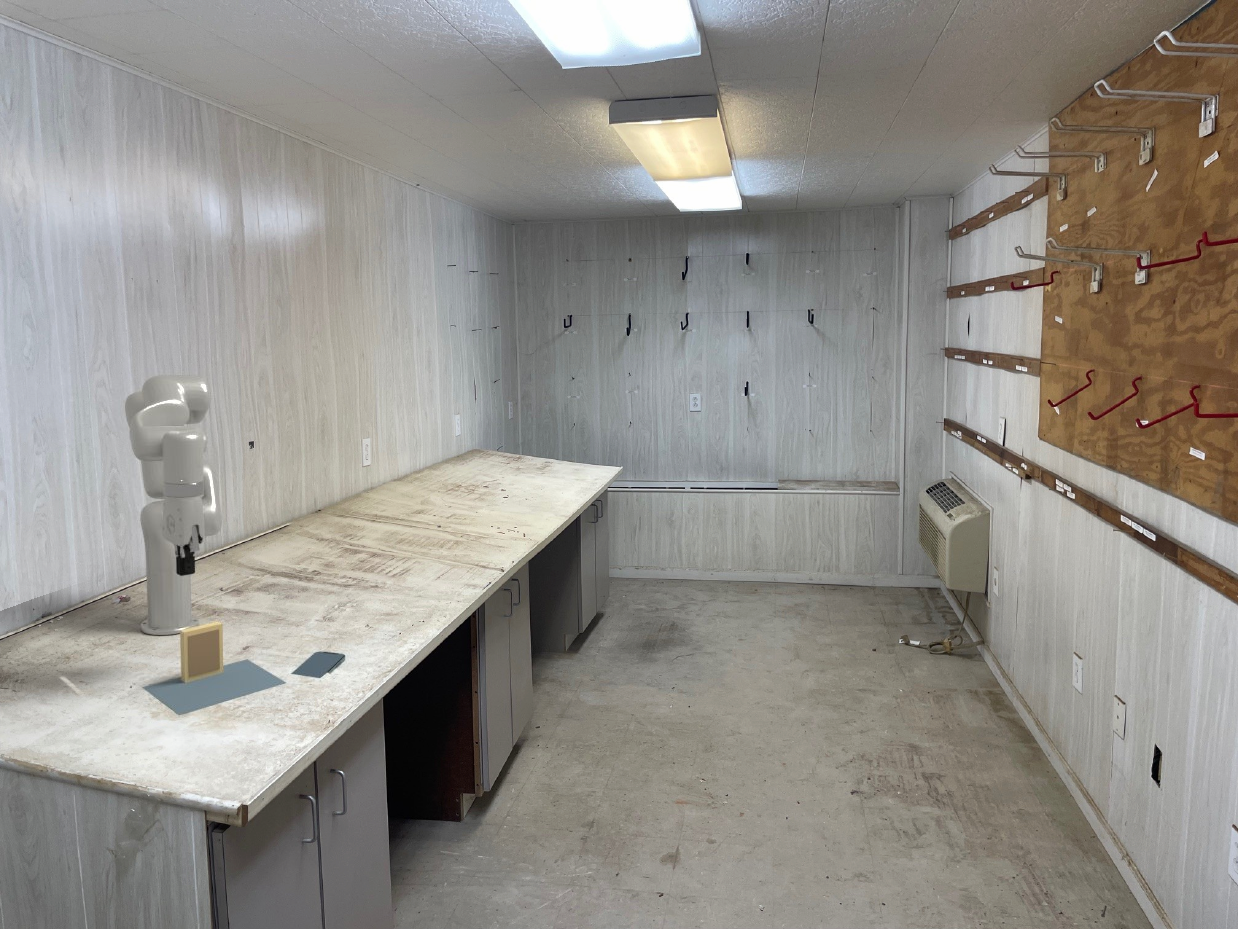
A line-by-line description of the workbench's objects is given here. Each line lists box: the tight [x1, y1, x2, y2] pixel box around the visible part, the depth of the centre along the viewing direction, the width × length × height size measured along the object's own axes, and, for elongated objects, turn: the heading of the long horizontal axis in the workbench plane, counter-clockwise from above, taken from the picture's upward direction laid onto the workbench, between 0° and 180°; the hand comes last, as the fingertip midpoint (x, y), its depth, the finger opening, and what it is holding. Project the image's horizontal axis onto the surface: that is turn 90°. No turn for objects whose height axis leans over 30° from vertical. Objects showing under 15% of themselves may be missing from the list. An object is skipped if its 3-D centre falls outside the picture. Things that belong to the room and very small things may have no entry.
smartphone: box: [290, 651, 346, 679], centre depth 189 cm, size 8×2×15 cm
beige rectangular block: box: [179, 621, 224, 683], centre depth 180 cm, size 2×8×11 cm, turn 140°
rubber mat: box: [142, 658, 287, 716], centre depth 177 cm, size 17×22×1 cm
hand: (185, 573), depth 181 cm, fingers closed
